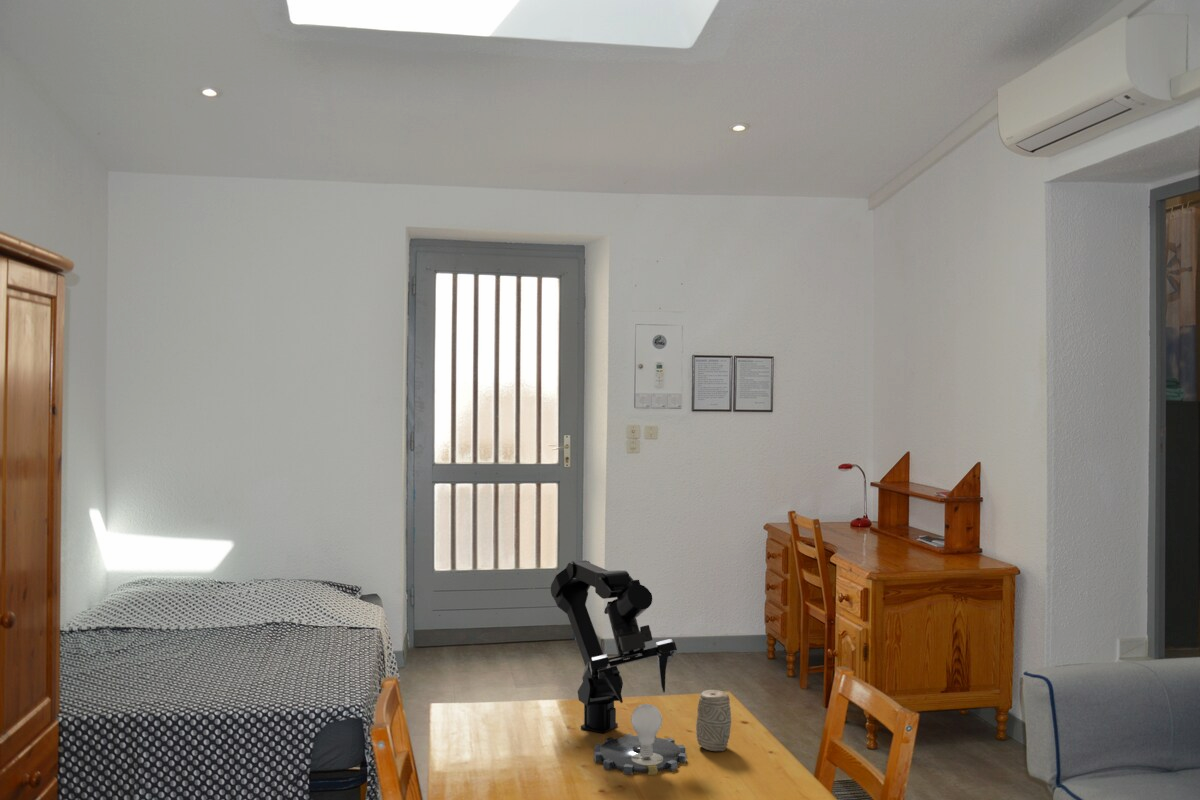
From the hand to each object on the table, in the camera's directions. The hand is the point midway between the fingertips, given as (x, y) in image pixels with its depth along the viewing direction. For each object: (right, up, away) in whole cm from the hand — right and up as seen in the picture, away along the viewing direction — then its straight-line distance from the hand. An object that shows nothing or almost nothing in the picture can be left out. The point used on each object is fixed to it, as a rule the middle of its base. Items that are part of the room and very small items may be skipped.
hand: (643, 697), depth 205 cm
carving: (+16, -13, +6) cm, 21 cm away
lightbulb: (+1, -11, -5) cm, 12 cm away
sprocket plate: (-1, -13, +1) cm, 13 cm away
